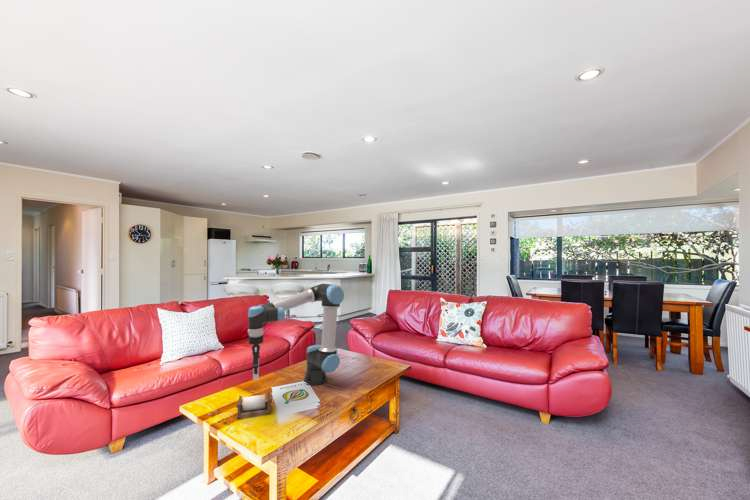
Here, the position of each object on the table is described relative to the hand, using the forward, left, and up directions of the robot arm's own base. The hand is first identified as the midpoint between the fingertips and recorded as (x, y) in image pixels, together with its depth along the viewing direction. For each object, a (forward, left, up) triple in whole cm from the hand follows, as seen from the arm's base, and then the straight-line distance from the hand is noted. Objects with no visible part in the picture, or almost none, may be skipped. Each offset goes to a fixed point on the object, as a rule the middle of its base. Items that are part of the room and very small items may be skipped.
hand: (256, 375), depth 170 cm
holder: (+1, +2, -19) cm, 19 cm away
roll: (+1, +1, -14) cm, 14 cm away
